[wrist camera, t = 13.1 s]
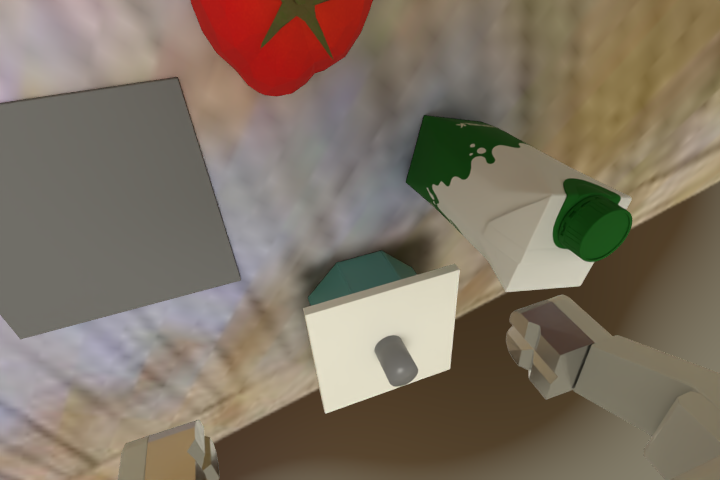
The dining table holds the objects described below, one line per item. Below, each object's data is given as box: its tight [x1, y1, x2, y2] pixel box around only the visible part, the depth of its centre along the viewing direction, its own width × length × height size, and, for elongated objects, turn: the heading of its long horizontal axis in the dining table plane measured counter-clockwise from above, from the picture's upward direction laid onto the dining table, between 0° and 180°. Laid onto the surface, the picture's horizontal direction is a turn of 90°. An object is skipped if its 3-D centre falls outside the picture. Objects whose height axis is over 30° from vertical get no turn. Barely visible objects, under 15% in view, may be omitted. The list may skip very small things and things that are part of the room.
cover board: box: [303, 264, 460, 413], centre depth 43 cm, size 16×16×5 cm
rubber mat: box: [0, 77, 241, 339], centre depth 34 cm, size 20×20×1 cm
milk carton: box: [406, 115, 632, 292], centre depth 35 cm, size 9×9×20 cm
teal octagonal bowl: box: [308, 251, 417, 306], centre depth 48 cm, size 13×13×7 cm
